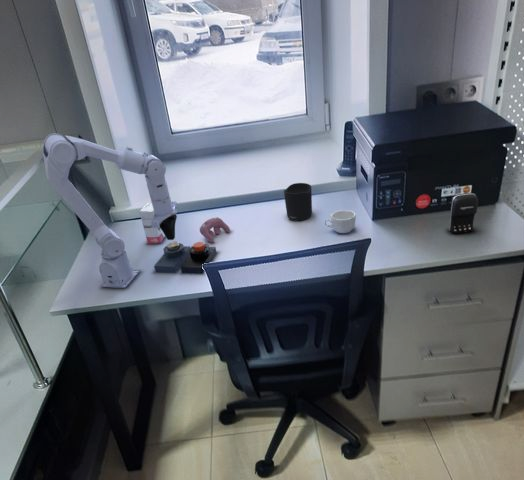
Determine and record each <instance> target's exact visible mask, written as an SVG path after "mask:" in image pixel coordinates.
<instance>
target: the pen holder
mask: <svg viewBox="0 0 524 480" xmlns="http://www.w3.org/2000/svg"><path fill="white" fill-rule="evenodd" d="M312 195H313V194H312V185H311V184H309V183H306V182H295V183H291V184H290V185H288V187H286V189H284V190H283V196H284V202H285V209H286V216H287V219H288V220H290V221H294V222H296V221H297V222H301V221H306V220H308V219H310V218H311V217H312V215H313V199H312V197H313V196H312Z"/></svg>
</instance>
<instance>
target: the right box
mask: <svg viewBox="0 0 524 480" xmlns="http://www.w3.org/2000/svg"><path fill="white" fill-rule="evenodd" d="M204 245H205V250H203V251H200V252H195V251H194V248H193V245H192V246H190V249H189V252H190V255H189V256H188V257H187V259H186V260H185V261H184V263H183V264H182V265H181V267H180V268H179V269H180V271H181V274H199V275H201V274H202V275H203V274H204V273H205V271H204V270H203V269H202V264H204V263H209V262H210V263H211V262H212V260H213V259H214V258H215V256H216V255H217V253H218V252H217V247H216V246H210V244H208V243H204Z"/></svg>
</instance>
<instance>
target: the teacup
mask: <svg viewBox="0 0 524 480" xmlns="http://www.w3.org/2000/svg"><path fill="white" fill-rule="evenodd" d="M356 216H357V213H356V212H355V211H354V210H350V209H339V210H336V211H333V212H332V213H331V214H330V218H326V219H325V220H324V226H326V227H327V228H330V229H331V228H332V229H333V230H334V231H335V232H336V233H339V234H348V233H350V232H352V231H353V229H354V227H355V225H356ZM327 221H328V222H330V224H327Z"/></svg>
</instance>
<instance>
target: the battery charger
mask: <svg viewBox="0 0 524 480" xmlns="http://www.w3.org/2000/svg"><path fill="white" fill-rule="evenodd" d="M478 206H479V198H478V197H477V195H476V193H472V192H469V193H461V194H455V195H454V196H453V197H452V200H451V206H450V216H449V218H450V219H449V227H448V231H449V232H450V233H451V234H464V233H466V234H467V233H472V232H473V230H474V229H473V228H474V219H475V215H476V214H477V212H478Z"/></svg>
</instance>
